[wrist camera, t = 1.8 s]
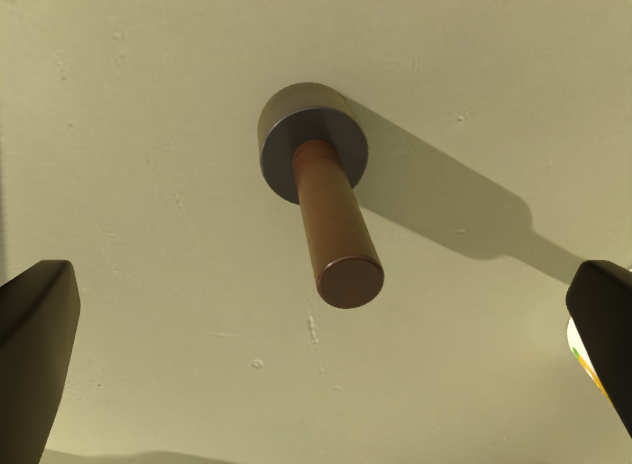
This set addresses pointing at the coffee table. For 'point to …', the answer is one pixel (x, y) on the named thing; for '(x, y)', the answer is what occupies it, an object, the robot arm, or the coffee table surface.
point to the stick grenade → (323, 186)
